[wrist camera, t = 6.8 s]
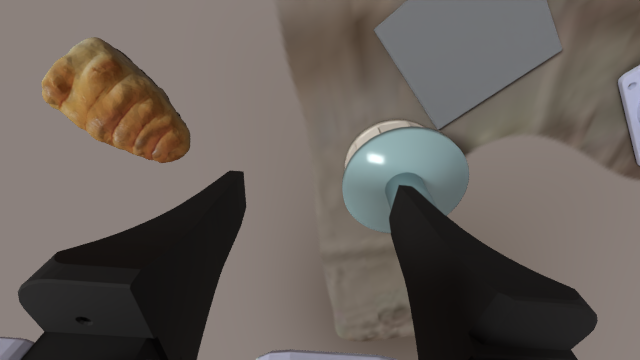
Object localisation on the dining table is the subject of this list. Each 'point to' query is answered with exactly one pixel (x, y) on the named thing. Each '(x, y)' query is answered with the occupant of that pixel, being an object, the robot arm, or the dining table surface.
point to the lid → (403, 173)
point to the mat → (466, 49)
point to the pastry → (116, 102)
